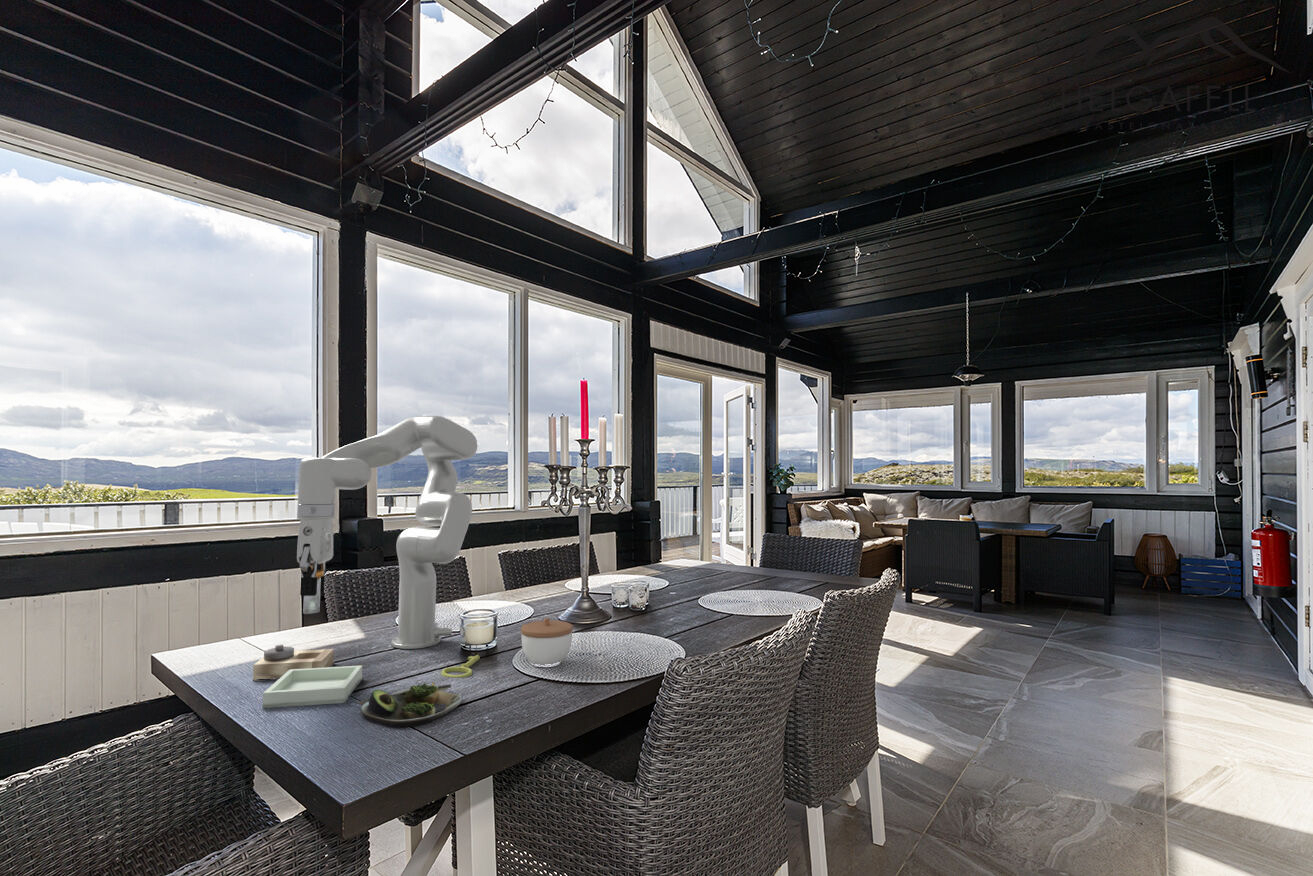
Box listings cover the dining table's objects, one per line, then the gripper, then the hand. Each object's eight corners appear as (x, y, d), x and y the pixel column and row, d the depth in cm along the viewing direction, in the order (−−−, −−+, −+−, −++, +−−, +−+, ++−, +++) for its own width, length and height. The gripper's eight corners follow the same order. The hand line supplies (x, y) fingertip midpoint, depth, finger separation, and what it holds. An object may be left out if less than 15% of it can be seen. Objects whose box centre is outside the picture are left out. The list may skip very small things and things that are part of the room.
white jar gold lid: (324, 610, 144) (326, 570, 144) (318, 613, 140) (320, 573, 140) (304, 610, 143) (306, 570, 144) (297, 614, 139) (299, 573, 140)
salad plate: (423, 686, 139) (424, 665, 139) (483, 701, 131) (484, 678, 131) (343, 716, 122) (344, 692, 122) (406, 735, 114) (407, 709, 114)
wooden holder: (333, 663, 154) (334, 637, 154) (321, 676, 144) (321, 649, 144) (269, 666, 151) (270, 640, 151) (252, 680, 141) (254, 652, 141)
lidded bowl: (537, 675, 146) (537, 627, 147) (510, 662, 156) (511, 617, 156) (582, 664, 155) (582, 619, 155) (554, 653, 164) (555, 610, 165)
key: (480, 662, 157) (480, 654, 157) (470, 679, 144) (470, 670, 144) (450, 663, 156) (450, 654, 156) (437, 680, 144) (438, 671, 144)
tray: (361, 678, 143) (362, 665, 143) (344, 702, 128) (344, 687, 128) (289, 683, 139) (289, 669, 140) (262, 708, 125) (263, 693, 125)
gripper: (321, 514, 135) (317, 600, 134) (345, 510, 152) (341, 586, 151) (283, 514, 134) (279, 601, 133) (311, 510, 150) (307, 587, 149)
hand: (312, 592), depth 142 cm, fingers closed on white jar gold lid, 4 cm apart
